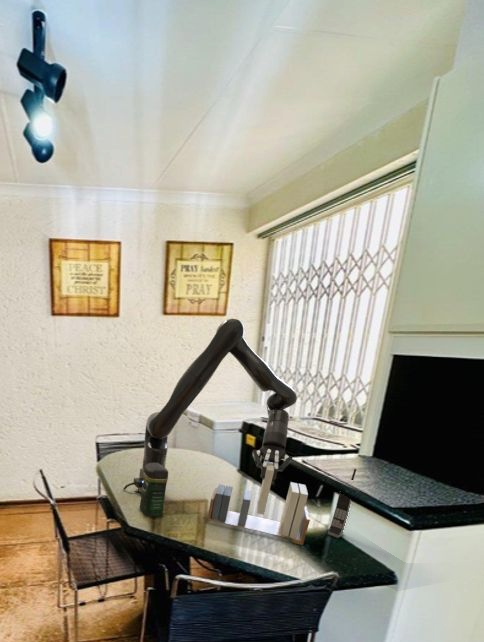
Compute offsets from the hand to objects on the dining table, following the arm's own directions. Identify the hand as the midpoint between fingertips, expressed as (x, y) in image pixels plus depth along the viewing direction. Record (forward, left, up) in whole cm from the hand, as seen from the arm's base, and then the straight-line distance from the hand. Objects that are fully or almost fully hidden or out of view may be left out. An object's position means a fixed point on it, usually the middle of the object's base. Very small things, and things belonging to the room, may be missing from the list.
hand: (267, 479), depth 132 cm
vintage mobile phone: (+28, -9, -19) cm, 35 cm away
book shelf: (+1, +2, -19) cm, 19 cm away
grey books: (-6, +8, -18) cm, 20 cm away
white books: (+9, -5, -18) cm, 21 cm away
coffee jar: (-32, +19, -19) cm, 42 cm away
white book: (+1, +2, -12) cm, 12 cm away
